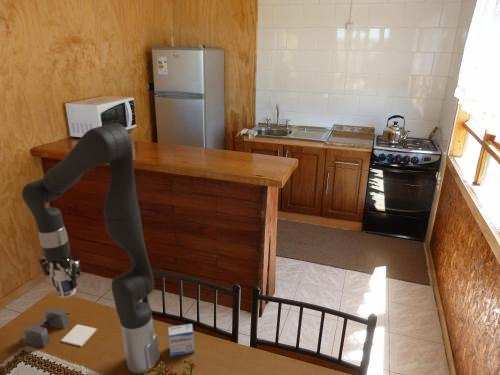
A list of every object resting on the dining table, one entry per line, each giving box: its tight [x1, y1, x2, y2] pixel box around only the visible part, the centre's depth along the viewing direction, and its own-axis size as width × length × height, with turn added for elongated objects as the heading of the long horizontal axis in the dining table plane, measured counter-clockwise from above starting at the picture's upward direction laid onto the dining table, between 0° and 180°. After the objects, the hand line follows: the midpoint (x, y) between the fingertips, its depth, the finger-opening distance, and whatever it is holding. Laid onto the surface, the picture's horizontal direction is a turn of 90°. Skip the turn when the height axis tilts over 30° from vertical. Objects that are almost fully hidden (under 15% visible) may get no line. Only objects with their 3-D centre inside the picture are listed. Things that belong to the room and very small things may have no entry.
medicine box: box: [167, 323, 196, 357], centre depth 122 cm, size 8×4×9 cm, turn 104°
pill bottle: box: [54, 268, 77, 299], centre depth 121 cm, size 5×5×10 cm
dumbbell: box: [21, 306, 70, 349], centre depth 131 cm, size 9×14×6 cm, turn 164°
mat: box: [60, 324, 98, 347], centre depth 129 cm, size 8×8×1 cm
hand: (65, 287), depth 122 cm, fingers closed on pill bottle, 5 cm apart
